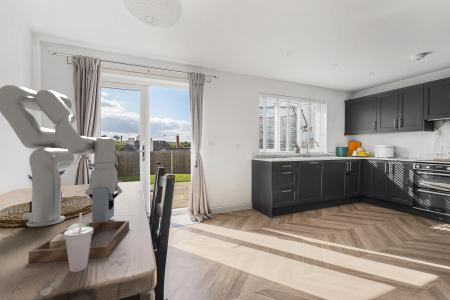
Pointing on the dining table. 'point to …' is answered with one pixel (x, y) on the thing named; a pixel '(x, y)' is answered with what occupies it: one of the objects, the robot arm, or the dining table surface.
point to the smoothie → (78, 246)
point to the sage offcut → (77, 226)
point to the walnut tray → (59, 254)
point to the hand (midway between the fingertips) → (103, 208)
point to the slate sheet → (101, 205)
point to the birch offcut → (58, 242)
